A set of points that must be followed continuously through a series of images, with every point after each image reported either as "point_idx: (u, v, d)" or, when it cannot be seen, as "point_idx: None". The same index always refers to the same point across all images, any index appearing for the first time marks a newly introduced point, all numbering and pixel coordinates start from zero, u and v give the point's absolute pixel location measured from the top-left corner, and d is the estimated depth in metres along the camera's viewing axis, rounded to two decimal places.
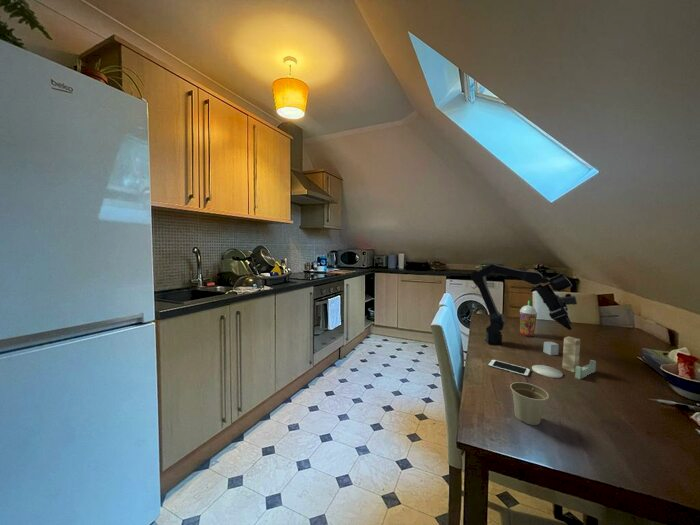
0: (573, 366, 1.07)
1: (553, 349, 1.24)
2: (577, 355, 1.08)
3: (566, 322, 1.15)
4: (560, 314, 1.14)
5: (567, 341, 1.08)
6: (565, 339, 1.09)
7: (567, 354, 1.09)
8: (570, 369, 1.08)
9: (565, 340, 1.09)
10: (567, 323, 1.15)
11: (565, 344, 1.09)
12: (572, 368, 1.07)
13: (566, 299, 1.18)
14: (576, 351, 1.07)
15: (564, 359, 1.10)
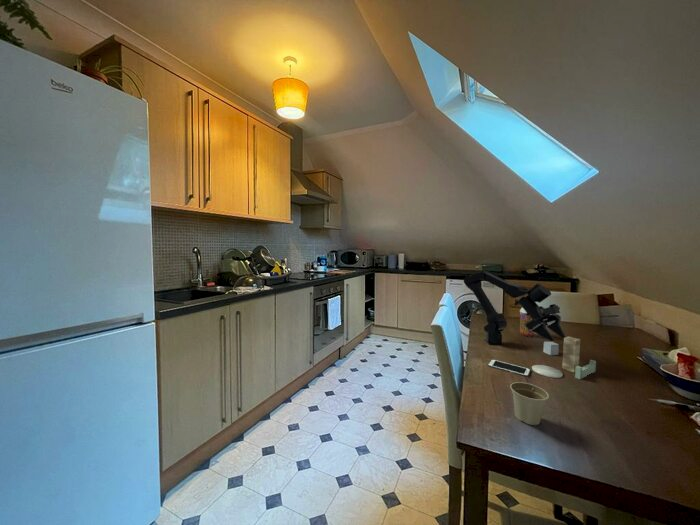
0: (573, 366, 1.07)
1: (553, 349, 1.24)
2: (577, 355, 1.08)
3: (546, 333, 1.12)
4: (534, 324, 1.13)
5: (567, 341, 1.08)
6: (565, 339, 1.09)
7: (567, 354, 1.09)
8: (570, 369, 1.08)
9: (565, 340, 1.09)
10: (547, 334, 1.12)
11: (565, 344, 1.09)
12: (572, 368, 1.07)
13: (545, 309, 1.15)
14: (576, 351, 1.07)
15: (564, 359, 1.10)
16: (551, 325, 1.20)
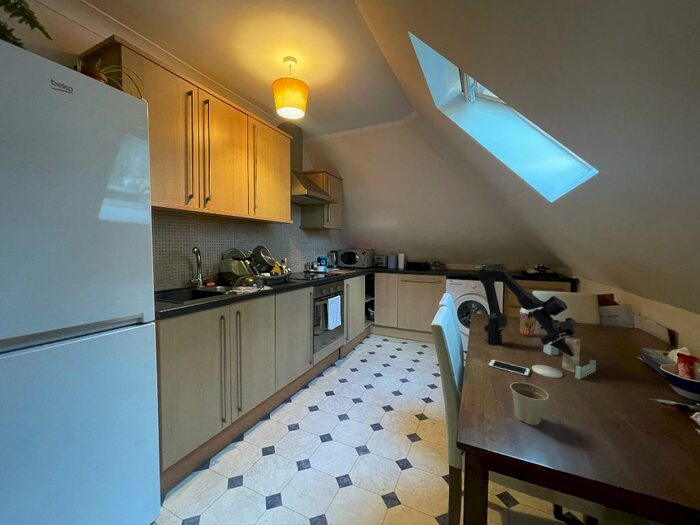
0: (573, 366, 1.07)
1: (553, 349, 1.24)
2: (577, 355, 1.07)
3: (565, 348, 1.08)
4: (550, 340, 1.08)
5: (568, 341, 1.08)
6: (565, 339, 1.09)
7: (567, 354, 1.09)
8: (570, 369, 1.08)
9: (565, 340, 1.09)
10: (566, 349, 1.08)
11: None
12: (572, 368, 1.07)
13: (561, 323, 1.10)
14: (576, 351, 1.07)
15: (564, 359, 1.10)
16: None
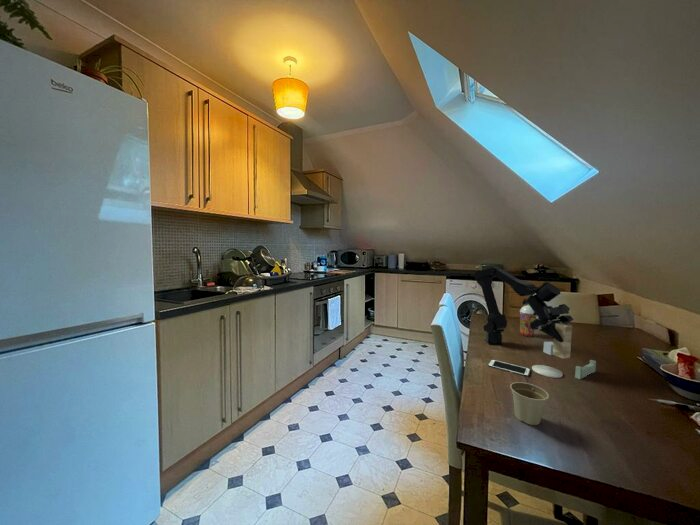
0: (563, 352, 1.05)
1: None
2: (568, 341, 1.05)
3: (554, 333, 1.07)
4: (537, 324, 1.07)
5: (558, 327, 1.07)
6: (556, 325, 1.08)
7: (557, 340, 1.07)
8: (560, 355, 1.06)
9: (556, 326, 1.07)
10: (556, 334, 1.06)
11: None
12: (562, 354, 1.05)
13: (551, 309, 1.09)
14: (566, 337, 1.05)
15: (554, 345, 1.08)
16: None
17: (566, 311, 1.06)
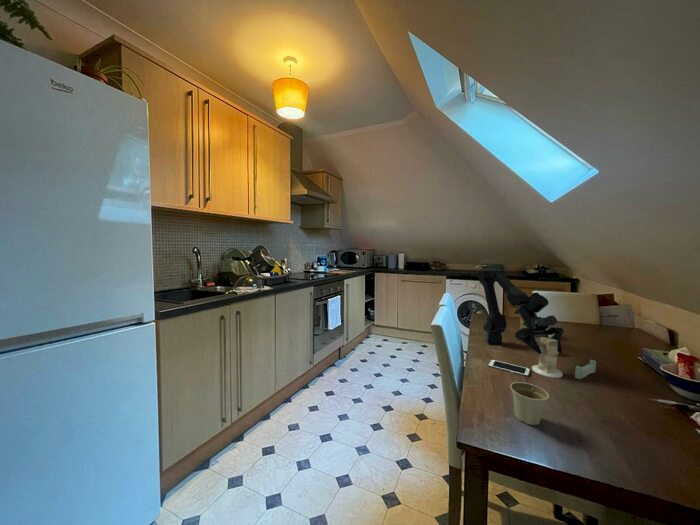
0: (546, 366, 1.05)
1: None
2: (552, 356, 1.05)
3: (533, 344, 1.06)
4: (520, 334, 1.09)
5: (543, 341, 1.07)
6: (541, 339, 1.07)
7: (542, 354, 1.07)
8: (544, 369, 1.06)
9: (541, 340, 1.07)
10: (535, 346, 1.06)
11: (541, 344, 1.07)
12: (545, 368, 1.05)
13: (537, 320, 1.09)
14: (550, 352, 1.04)
15: (540, 359, 1.08)
16: None
17: (552, 323, 1.05)
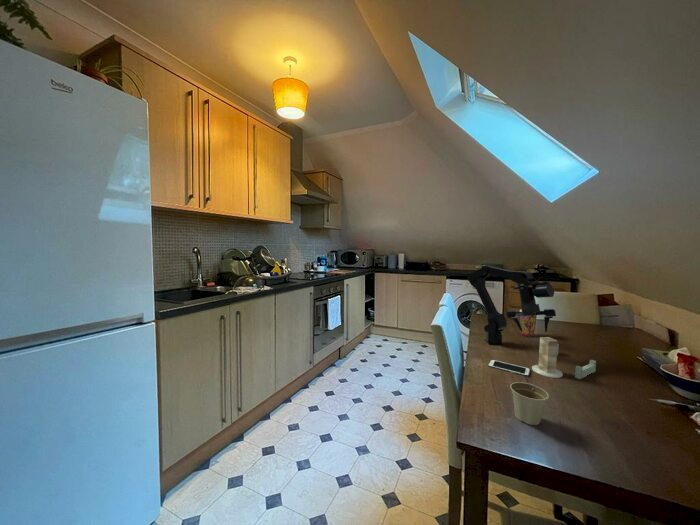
0: (546, 366, 1.05)
1: None
2: (552, 356, 1.05)
3: None
4: None
5: (542, 341, 1.07)
6: (541, 339, 1.08)
7: (542, 354, 1.07)
8: (544, 369, 1.06)
9: (541, 340, 1.08)
10: None
11: (541, 344, 1.08)
12: (545, 368, 1.05)
13: None
14: (550, 352, 1.05)
15: (540, 359, 1.08)
16: None
17: (530, 314, 1.16)
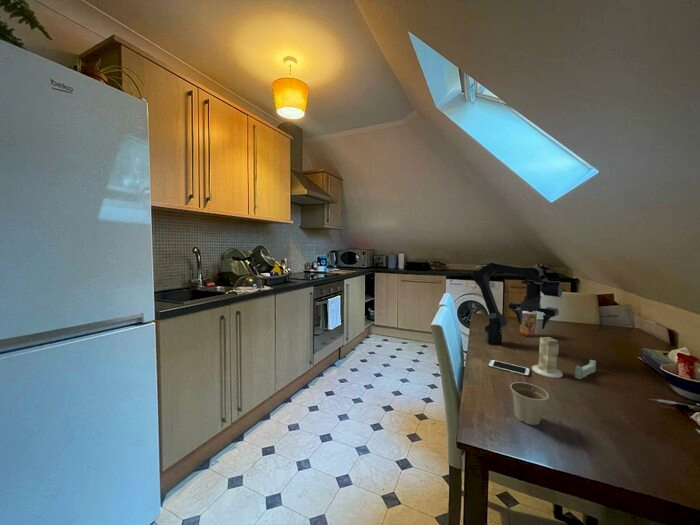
0: (546, 366, 1.05)
1: None
2: (552, 356, 1.05)
3: None
4: None
5: (542, 341, 1.07)
6: (541, 339, 1.08)
7: (542, 354, 1.07)
8: (544, 369, 1.06)
9: (541, 340, 1.08)
10: None
11: (541, 344, 1.08)
12: (545, 368, 1.05)
13: None
14: (550, 352, 1.05)
15: (540, 359, 1.08)
16: None
17: (527, 310, 1.19)
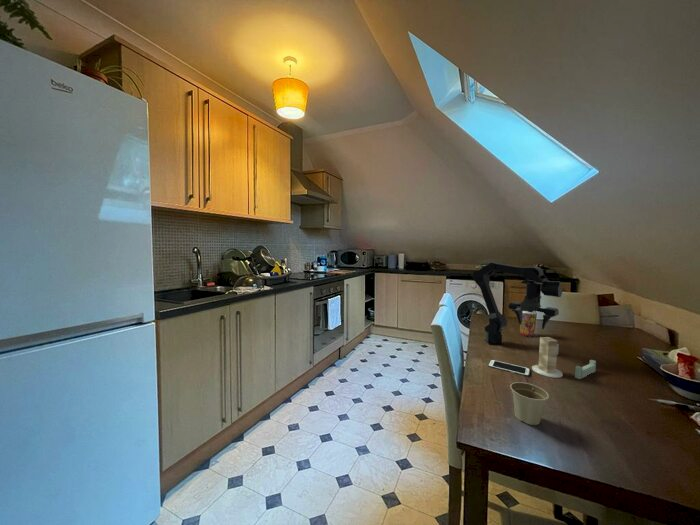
0: (546, 366, 1.05)
1: None
2: (552, 356, 1.05)
3: None
4: None
5: (542, 341, 1.07)
6: (541, 339, 1.08)
7: (542, 354, 1.07)
8: (544, 369, 1.06)
9: (541, 340, 1.08)
10: None
11: (541, 344, 1.08)
12: (545, 368, 1.05)
13: None
14: (550, 352, 1.05)
15: (540, 359, 1.08)
16: None
17: (527, 310, 1.19)
